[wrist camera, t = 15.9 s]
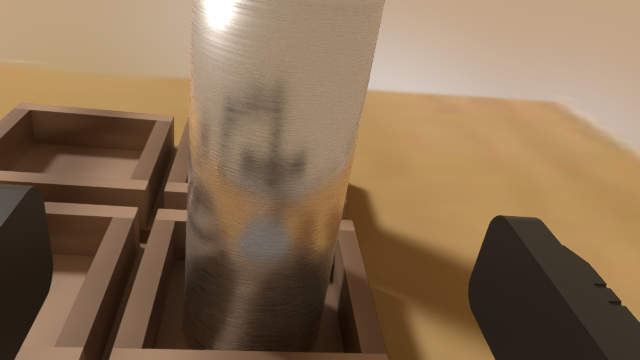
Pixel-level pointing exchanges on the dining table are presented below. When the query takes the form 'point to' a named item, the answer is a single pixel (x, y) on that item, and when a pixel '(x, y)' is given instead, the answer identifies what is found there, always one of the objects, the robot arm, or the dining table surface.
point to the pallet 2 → (167, 294)
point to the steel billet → (270, 164)
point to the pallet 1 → (98, 158)
